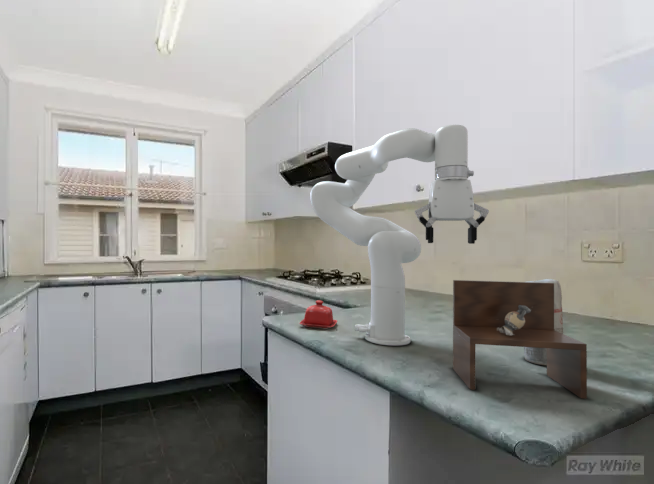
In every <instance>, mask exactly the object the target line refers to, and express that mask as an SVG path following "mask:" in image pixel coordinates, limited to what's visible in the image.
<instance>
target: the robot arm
mask: <svg viewBox="0 0 654 484" xmlns="http://www.w3.org/2000/svg"><path fill="white" fill-rule="evenodd" d="M468 132H469V131H468V129H467V127H466V126H465V125H462V124H448V125H444V126H441V127H439V128H438V129H437V130H436V131H435V133H433V132H427V131H424V130H422V129H418V128H404V129H401V130H400V129H399V130H397V131H394V132H390V133H387V134H385V135H383V136H382V137H380V139H378V140H377V141H376V142H375V143H374V144H373V145H369V146H366V147H363V148H359V149H356V150H352V151H350V152H346V153H344V154H342V155H340V156H339V157H338V158H337V159H336V161H335V164H334V170H335V172H336V174H337V175H338V176H339V177H340V178H342V179H344V180H346V181H345V182H337V181H332V180H331V181H329V180H326V181H320V182H317V183H316V184H315V185H313V186H312V188H311V190H310V194H309V195H310V197H309V198H310V204H311V207H312V210H313V212H314V213H315V214H316V216H317V217H318V218H319V219H320V220H321V221H322V222H324V223H325V224H326V225H328V226H329V227H330V228H332V229H333V230H335V231H337V232H338V233H339V234H341V235H342V236H344V237H345V238H347V239H348V240H350V241H351V242H352V243H354V244H355V245H357V246H359V247H360V246H362V247H367V255H368V259H369V260H368V261H369V266H370V267H369V268H370V321H369V322H368V323H365V324H359V323H358V324H356V323H355V324H354V331H355V332H359V333H365V334H364V338H365V340H366V341H367V342H369V343H373V344H376V345H381V346H382V345H383V346H393V347H395V346H396V347H397V346H406V345H409V344H410V343H411V341H412V340H411V337H410V336H409V335H407V334H406V276H405V272H404V268H403V266H402V264H408V263H411V262H415V260H417V259H418V258H419V256H420V255H421V252H422V244H421V241H420V240H419V237H417V236H416V235H415V234H414V233H413V232H411V231H410V230H408V229H406V228H404V227H402V226H400V225H399V224H397V223H395V222H393V221H391V220H390V219H388V218H385V217H381V216H371V215H365V214H362V213H359V212H358V211H355V210H354V209H352V208H351V207H352V206H354V205H355V204H356V203H357V202H358V200H359V199H360V197H362V195H363V194H364V192H365V191H366V190H367V189H368V187H369V185H370V184H371V183H372V181H373V180H374V178H375V177H376V175H377V174H382V173H383V172H385V171H386V170H387V168H388V167H389V162H393V161H397V160H400V159H411V160H415V161H418V162H423V163H433V162H434V180H433V181H431V182H430V188H429V193H428V203H427V204H425V205H423V206H421V207H419V208H417V209H415V210H414V214H415V217H416V218H417V220H418V222H419V223H420V224H421V225H423V227H424V228H425V241H427V243H428V244H433V243H434V227H433V225H434V223H435V222H436V221H440V222H441V221H442V222H443V221H445V222H447V221H448V222H449V221H452V222H453V221H455V222H456V221H461V222H462V221H465V223H466V224H468V226H469V227H468V228H467V244H472V245H475V244H476V241H477V240H478V227H480V225H481V224H483V222H485V220H486V218H487V216H488V215H489V212H490V211H489V209H487V208H485V207H484V206H481V205H479V204H477V203H475V201H474V200H475V199H474V193H473V186H472V181H471V179H469V177H470V178H471V177H473V176H475V171H474V170H470V169H469V167H468V165H469V164H468V162H469V159H468V158H469V157H468V155H469V154H468V153H469V152H468V151H469V149H468V148H469V145H468V143H469V141H468V140H469V135H468ZM426 211H427V218H428V219H427V218H425V217H424V215H423V213H424V212H426ZM475 211H476V212H478V213H479V216H478V217H477V218H476V219H475V218H474V217H475Z"/></svg>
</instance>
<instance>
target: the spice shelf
mask: <svg viewBox="0 0 654 484" xmlns="http://www.w3.org/2000/svg"><path fill="white" fill-rule="evenodd" d="M452 294H453V295H452V370H454V372H455V373H456V375H457V376H458V377H459V378H460V379H461V381H463V383H464V384H465V385H466V387H468V389H469V390H475V391H476V345H485V346H500V347H501V346H503V347H518V348H519V347H520V348H524V347H534V348H547V365H546V376H547V377H548V378H550V379H551V380H553V381H554V382H556V383H557V384H559V385H560V386H562V387H564V388H565V389H566V390H568V391H570V393H572V394H574V395H575V396H577V397H578V398H581V399H588V355H587V354H588V351H587V349H588V346H587V343H585V342H582V341H581V340H578V339H576V338H574V337H571V336H568V335H566V334H564V333H563V334H562V333H559V332H557V331H555V330H554V283H539V282H529V281H502V280H501V281H499V280H498V281H497V280H471V279H470V280H468V279H467V280H466V279H465V280H464V279H453V280H452ZM518 305H524V306H526V307H528V308H529V309H530V310H531V312H530V313H526V314H525V315H524V318H525V324H524V326H523V327H522V328H520V329H518V330H513V334H514V335H512V336H511V335H506V333H500V331H499V330H498V331H497V328H501V327H502V326H505V317H506V315H507V314H508V313H509V312H514V311H515V312H516V311H518V309H519V308H518ZM514 331H515V332H514Z"/></svg>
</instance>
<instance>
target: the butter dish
mask: <svg viewBox="0 0 654 484" xmlns="http://www.w3.org/2000/svg"><path fill="white" fill-rule="evenodd" d="M323 304H324V301H323V300H320V299H317V300H315V304H313V305H309V306H308V307H307V308H306V310H305V312H304V313H305V314H304V318H303V319H302V320H301V321H299V325H302V326H305V327H306V328H315V329H325V330H327V329H330V328H333V327H335V326H336V324H337V323H338V320H337V319H334V314H333V310H332V308H331V307H329V306H326V305H323Z"/></svg>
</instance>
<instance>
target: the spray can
mask: <svg viewBox="0 0 654 484" xmlns="http://www.w3.org/2000/svg"><path fill="white" fill-rule="evenodd" d="M528 282H539V283H554V330H555V331H557V332H559V333H562V334H564V325H563V324H564V320H563V304H562V303H563V302H562V301H563V295H562V287H561V283H560V281H559V280H557V279H554V278H553V279H552V278H544V279H539V280H538V279H537V280H530V281H529V280H528ZM523 352H524V353H523V354H524V360H526V361H527V362H529V363H532V364H535V365H541V366H547V348H534V347H523Z"/></svg>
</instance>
